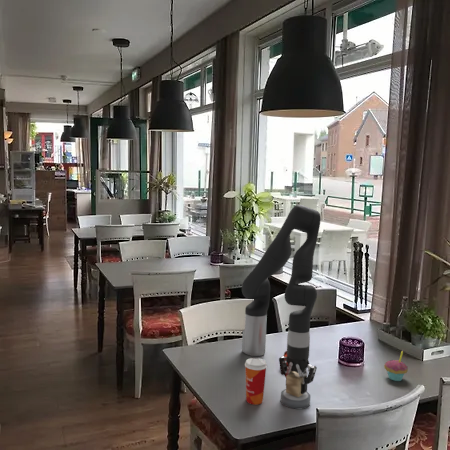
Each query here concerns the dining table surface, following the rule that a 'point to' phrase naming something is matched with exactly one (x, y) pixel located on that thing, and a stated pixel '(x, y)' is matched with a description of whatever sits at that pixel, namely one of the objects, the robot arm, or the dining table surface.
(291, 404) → the pedestal
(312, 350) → the dining table surface
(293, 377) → the oak block
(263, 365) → the paper cup
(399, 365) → the cupcake
